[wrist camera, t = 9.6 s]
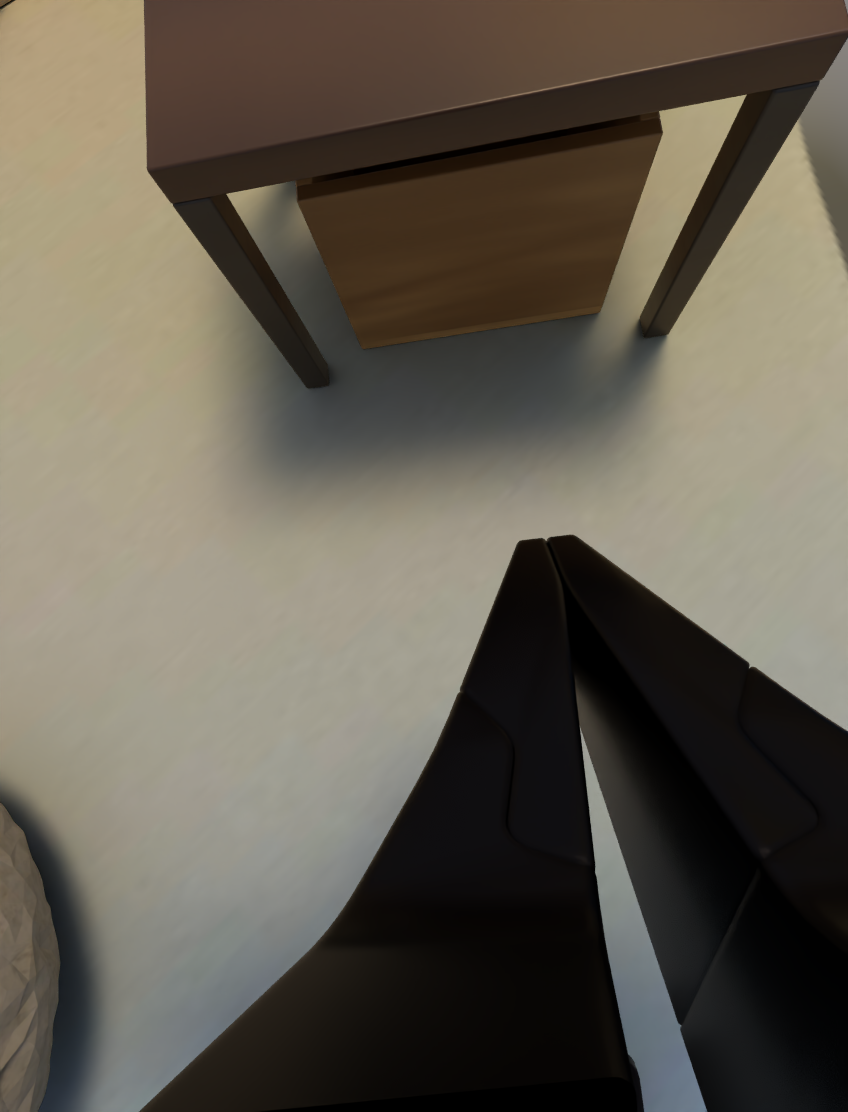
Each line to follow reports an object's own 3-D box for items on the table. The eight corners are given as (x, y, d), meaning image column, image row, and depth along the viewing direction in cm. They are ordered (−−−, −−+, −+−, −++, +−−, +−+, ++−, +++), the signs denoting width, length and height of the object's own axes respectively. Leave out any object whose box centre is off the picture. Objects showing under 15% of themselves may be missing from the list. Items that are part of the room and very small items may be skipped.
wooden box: (600, 313, 22) (664, 132, 14) (361, 350, 23) (296, 201, 15) (573, 144, 23) (617, -108, 15) (348, 186, 24) (280, -30, 16)
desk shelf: (668, 335, 21) (854, 30, 11) (307, 389, 23) (145, 170, 12) (624, 92, 23) (744, -384, 12) (291, 157, 25) (139, -215, 14)
